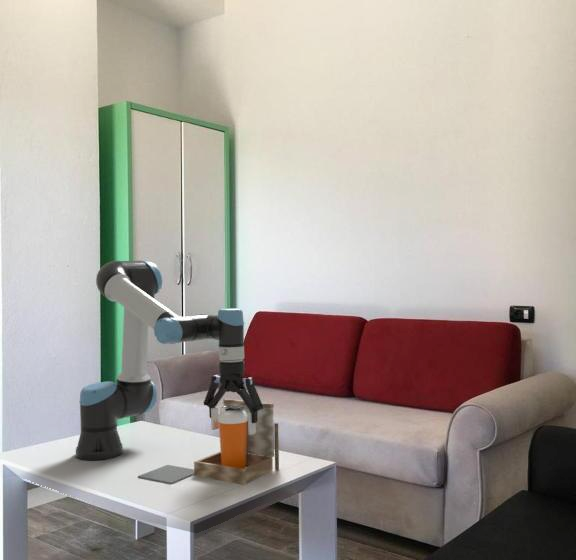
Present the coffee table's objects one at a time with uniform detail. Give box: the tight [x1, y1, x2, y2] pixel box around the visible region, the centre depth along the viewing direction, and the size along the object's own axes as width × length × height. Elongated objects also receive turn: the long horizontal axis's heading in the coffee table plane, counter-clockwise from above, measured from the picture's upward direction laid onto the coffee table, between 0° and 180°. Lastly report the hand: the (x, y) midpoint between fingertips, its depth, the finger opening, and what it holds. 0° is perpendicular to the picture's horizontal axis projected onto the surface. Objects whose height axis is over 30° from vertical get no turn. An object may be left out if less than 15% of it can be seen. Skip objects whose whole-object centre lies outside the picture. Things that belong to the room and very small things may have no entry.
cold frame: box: [193, 398, 280, 485], centre depth 199 cm, size 19×17×20 cm
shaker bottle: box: [218, 405, 248, 469], centre depth 198 cm, size 9×9×20 cm
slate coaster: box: [137, 464, 195, 485], centre depth 198 cm, size 13×13×1 cm
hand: (233, 431), depth 198 cm, fingers open, 13 cm apart
